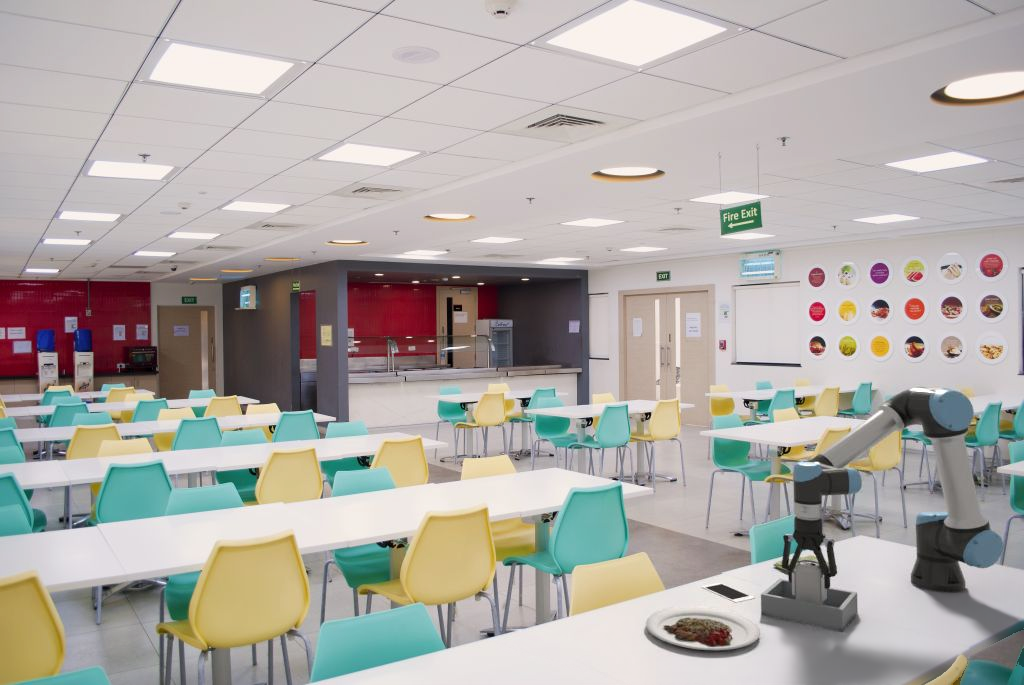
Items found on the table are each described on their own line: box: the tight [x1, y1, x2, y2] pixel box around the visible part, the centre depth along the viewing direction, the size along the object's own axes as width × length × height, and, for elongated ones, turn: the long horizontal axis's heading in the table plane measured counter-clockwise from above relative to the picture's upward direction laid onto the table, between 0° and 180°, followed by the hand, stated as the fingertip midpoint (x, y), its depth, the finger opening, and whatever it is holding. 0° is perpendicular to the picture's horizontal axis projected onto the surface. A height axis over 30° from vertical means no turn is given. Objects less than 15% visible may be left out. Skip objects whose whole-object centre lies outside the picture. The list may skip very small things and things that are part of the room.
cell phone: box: [701, 582, 756, 603], centre depth 234 cm, size 8×16×1 cm, turn 25°
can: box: [795, 560, 823, 604], centre depth 215 cm, size 8×8×12 cm
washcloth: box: [773, 554, 838, 573], centre depth 256 cm, size 13×18×3 cm
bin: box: [760, 578, 858, 633], centre depth 215 cm, size 22×17×6 cm
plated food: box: [645, 605, 761, 651], centre depth 203 cm, size 30×30×3 cm
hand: (809, 596), depth 215 cm, fingers closed on can, 7 cm apart
